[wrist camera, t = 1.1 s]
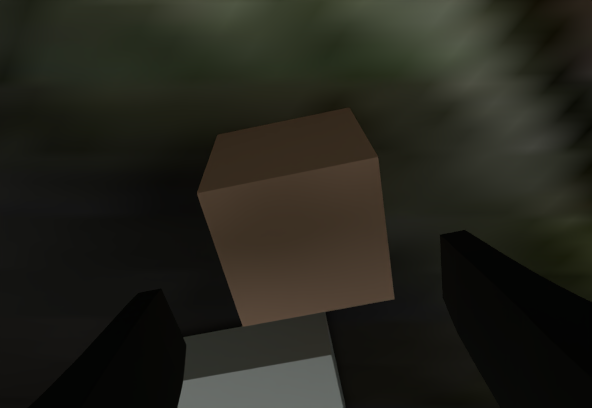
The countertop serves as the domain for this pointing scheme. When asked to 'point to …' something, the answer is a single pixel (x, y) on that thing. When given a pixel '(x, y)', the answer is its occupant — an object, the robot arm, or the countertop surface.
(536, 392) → the robot arm
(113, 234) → the countertop surface
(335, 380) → the grey block
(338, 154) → the terracotta cube
